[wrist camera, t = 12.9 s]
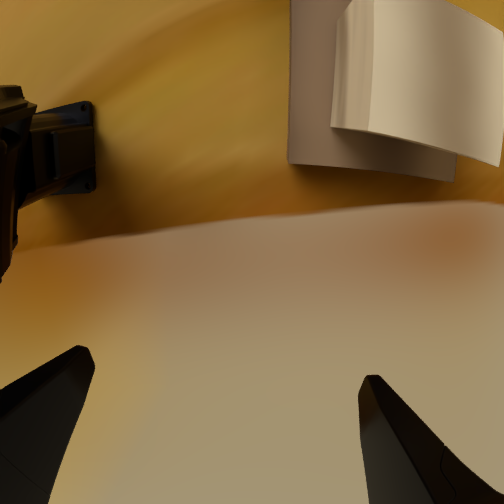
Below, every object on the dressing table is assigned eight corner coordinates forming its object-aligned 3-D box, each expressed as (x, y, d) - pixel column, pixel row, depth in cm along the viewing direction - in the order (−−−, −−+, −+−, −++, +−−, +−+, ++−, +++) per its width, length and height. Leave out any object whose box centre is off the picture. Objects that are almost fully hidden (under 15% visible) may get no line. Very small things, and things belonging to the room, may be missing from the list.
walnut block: (286, 156, 18) (288, 163, 15) (289, 7, 13) (291, -11, 11) (431, 173, 17) (453, 182, 14) (435, 36, 13) (457, 27, 10)
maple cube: (330, 126, 14) (367, 130, 8) (336, 21, 11) (372, -26, 6) (430, 147, 14) (498, 167, 8) (437, 49, 11) (502, 32, 6)
